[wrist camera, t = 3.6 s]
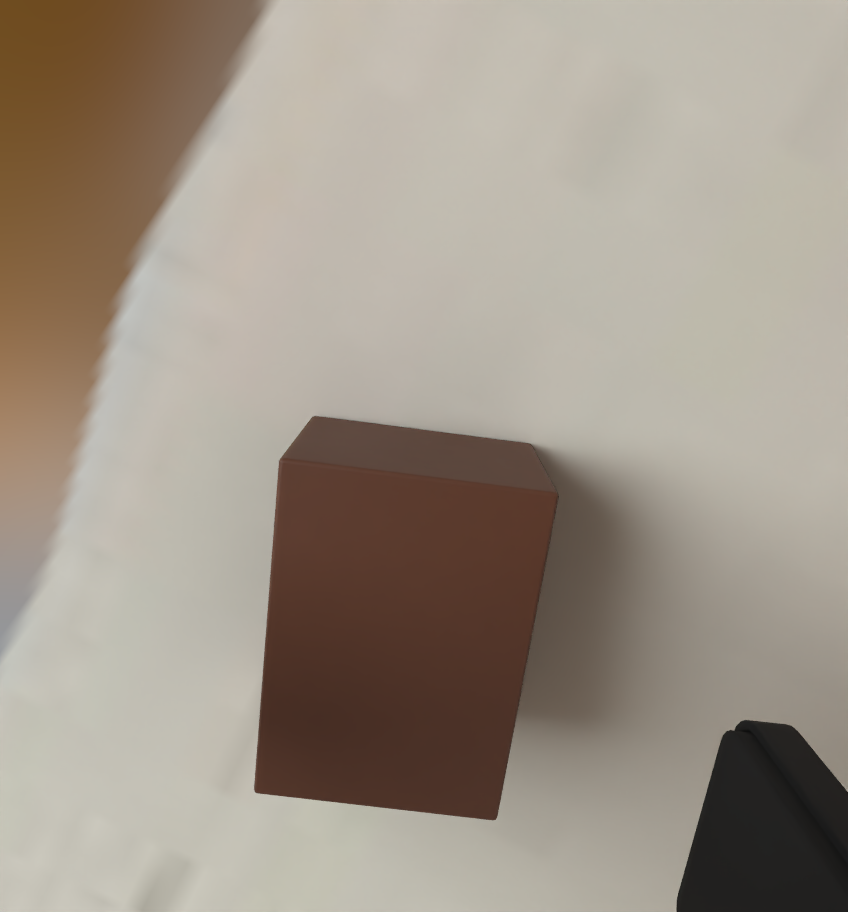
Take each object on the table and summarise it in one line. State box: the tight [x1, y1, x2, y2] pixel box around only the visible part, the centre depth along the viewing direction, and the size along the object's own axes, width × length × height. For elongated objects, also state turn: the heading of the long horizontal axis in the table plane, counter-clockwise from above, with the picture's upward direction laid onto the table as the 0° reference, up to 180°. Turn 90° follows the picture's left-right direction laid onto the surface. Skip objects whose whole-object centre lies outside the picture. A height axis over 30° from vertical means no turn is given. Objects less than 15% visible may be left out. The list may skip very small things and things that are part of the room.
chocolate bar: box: [254, 416, 559, 820], centre depth 13 cm, size 6×4×3 cm
